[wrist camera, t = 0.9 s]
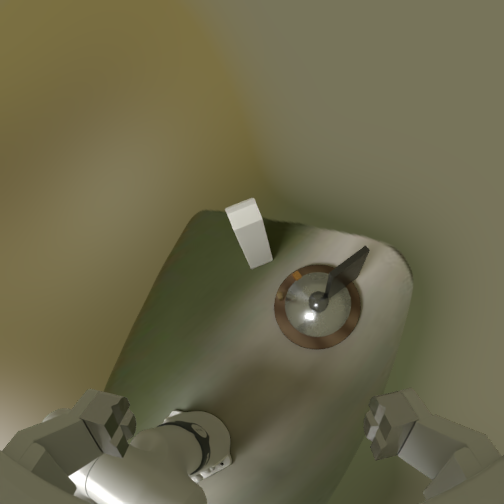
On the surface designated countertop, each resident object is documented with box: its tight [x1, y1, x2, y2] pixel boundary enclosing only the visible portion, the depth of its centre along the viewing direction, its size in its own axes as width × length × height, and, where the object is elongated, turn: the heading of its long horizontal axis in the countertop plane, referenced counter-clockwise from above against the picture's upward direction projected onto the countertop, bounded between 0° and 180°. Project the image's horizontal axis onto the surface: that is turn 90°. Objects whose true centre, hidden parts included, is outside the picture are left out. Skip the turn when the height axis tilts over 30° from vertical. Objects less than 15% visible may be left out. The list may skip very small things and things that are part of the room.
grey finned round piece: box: [285, 246, 370, 337], centre depth 53 cm, size 18×17×15 cm
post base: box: [274, 265, 360, 349], centre depth 59 cm, size 20×20×5 cm
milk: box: [225, 198, 273, 269], centre depth 60 cm, size 6×6×22 cm
